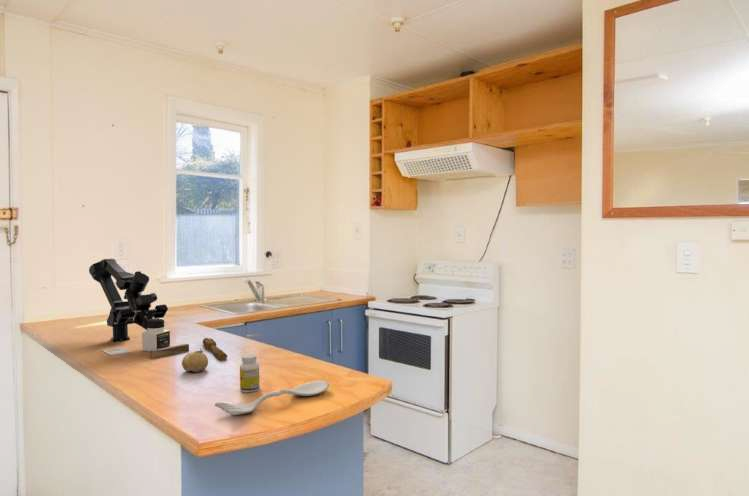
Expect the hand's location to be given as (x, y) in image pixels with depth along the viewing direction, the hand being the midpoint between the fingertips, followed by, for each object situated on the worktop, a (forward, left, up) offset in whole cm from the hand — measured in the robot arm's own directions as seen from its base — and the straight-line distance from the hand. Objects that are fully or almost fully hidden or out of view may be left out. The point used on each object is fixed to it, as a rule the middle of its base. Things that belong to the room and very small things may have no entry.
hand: (150, 330), depth 193 cm
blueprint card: (-2, -12, -7) cm, 14 cm away
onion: (+42, +6, -7) cm, 43 cm away
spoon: (+86, +17, -8) cm, 88 cm away
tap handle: (+20, +19, -8) cm, 28 cm away
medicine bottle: (+4, +1, -7) cm, 8 cm away
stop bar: (+14, +4, -7) cm, 16 cm away
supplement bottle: (+71, +14, -7) cm, 73 cm away
